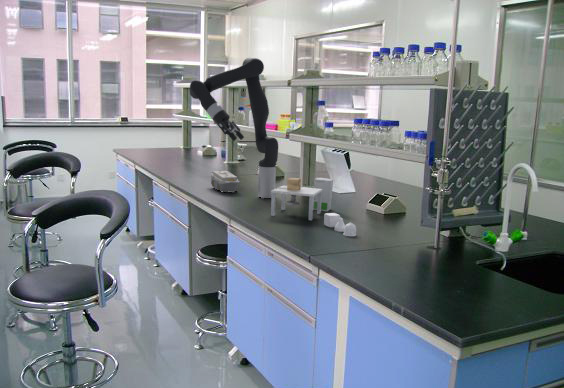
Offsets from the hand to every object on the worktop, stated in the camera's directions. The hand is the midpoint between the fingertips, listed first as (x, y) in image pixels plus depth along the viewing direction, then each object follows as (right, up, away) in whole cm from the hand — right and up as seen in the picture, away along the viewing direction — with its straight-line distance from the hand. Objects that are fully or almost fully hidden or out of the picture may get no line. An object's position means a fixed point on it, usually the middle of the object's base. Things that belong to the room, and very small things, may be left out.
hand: (239, 139), depth 246 cm
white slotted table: (+28, -36, -7) cm, 46 cm away
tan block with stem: (+26, -31, -7) cm, 42 cm away
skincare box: (+41, -35, +6) cm, 54 cm away
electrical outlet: (-13, -25, +51) cm, 58 cm away
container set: (+45, -42, -33) cm, 70 cm away
